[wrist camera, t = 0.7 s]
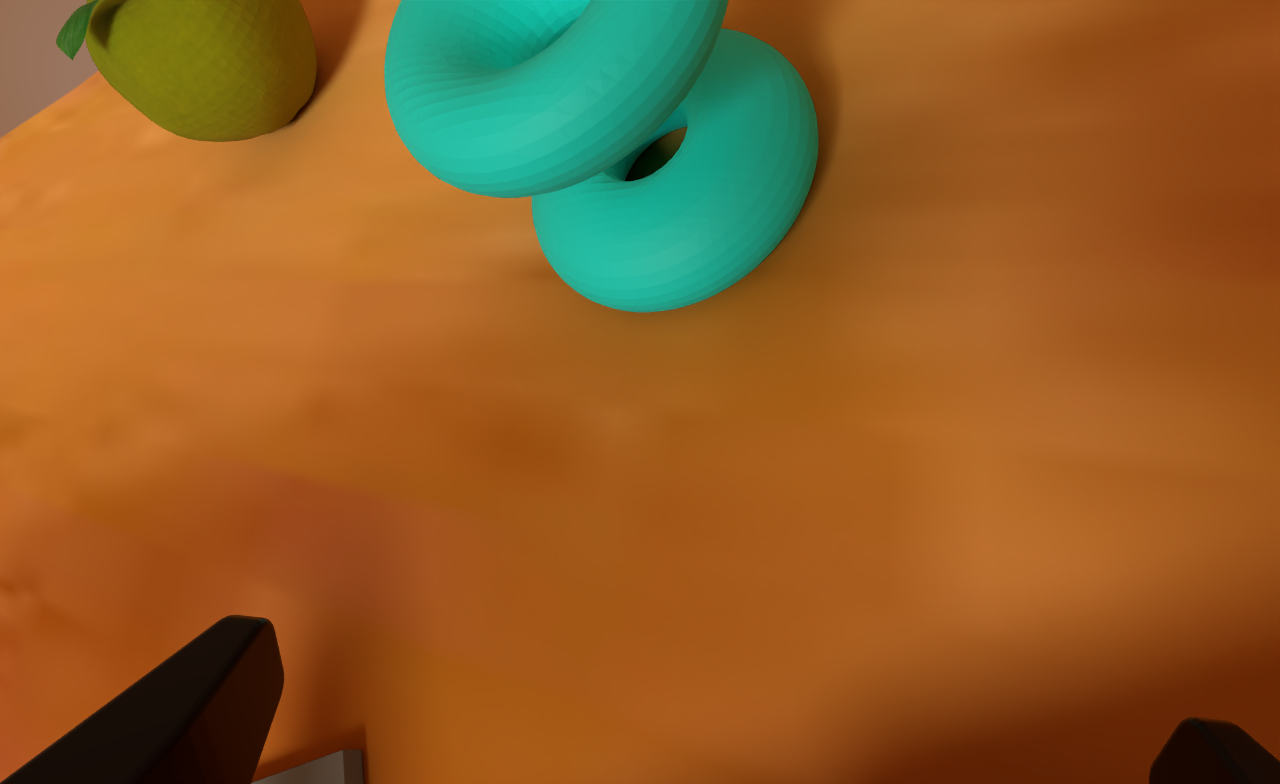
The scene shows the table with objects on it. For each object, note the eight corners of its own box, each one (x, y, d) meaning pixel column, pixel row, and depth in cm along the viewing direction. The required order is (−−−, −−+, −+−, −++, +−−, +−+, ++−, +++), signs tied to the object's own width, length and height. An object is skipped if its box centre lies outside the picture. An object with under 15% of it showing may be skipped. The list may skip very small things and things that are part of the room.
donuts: (728, -247, 20) (658, 117, 17) (845, 42, 28) (811, 321, 25) (414, -119, 25) (318, 178, 22) (591, 94, 33) (538, 331, 30)
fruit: (210, 199, 44) (0, 74, 36) (250, 55, 47) (67, -90, 39) (338, 156, 40) (133, 4, 31) (373, 1, 43) (195, -173, 35)
